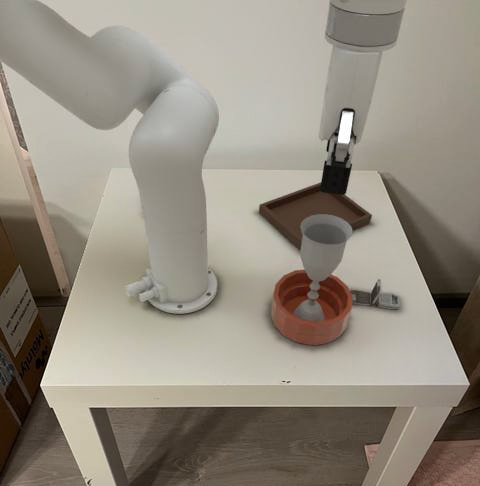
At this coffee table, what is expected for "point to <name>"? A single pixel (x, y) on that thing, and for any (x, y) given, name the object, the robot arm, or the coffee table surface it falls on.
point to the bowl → (330, 299)
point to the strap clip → (376, 297)
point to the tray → (310, 211)
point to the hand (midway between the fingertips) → (335, 171)
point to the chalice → (320, 257)
